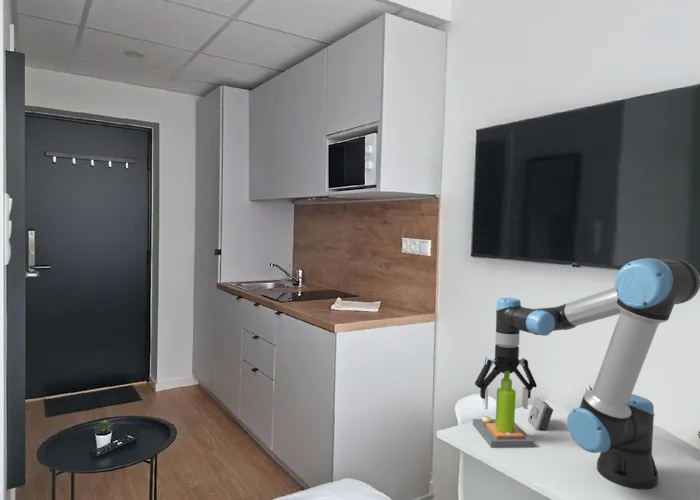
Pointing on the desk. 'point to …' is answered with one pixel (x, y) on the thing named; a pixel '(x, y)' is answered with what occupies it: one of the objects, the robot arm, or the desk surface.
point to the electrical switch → (540, 414)
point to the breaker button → (503, 435)
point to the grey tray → (495, 443)
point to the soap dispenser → (505, 405)
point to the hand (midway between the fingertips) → (504, 407)
